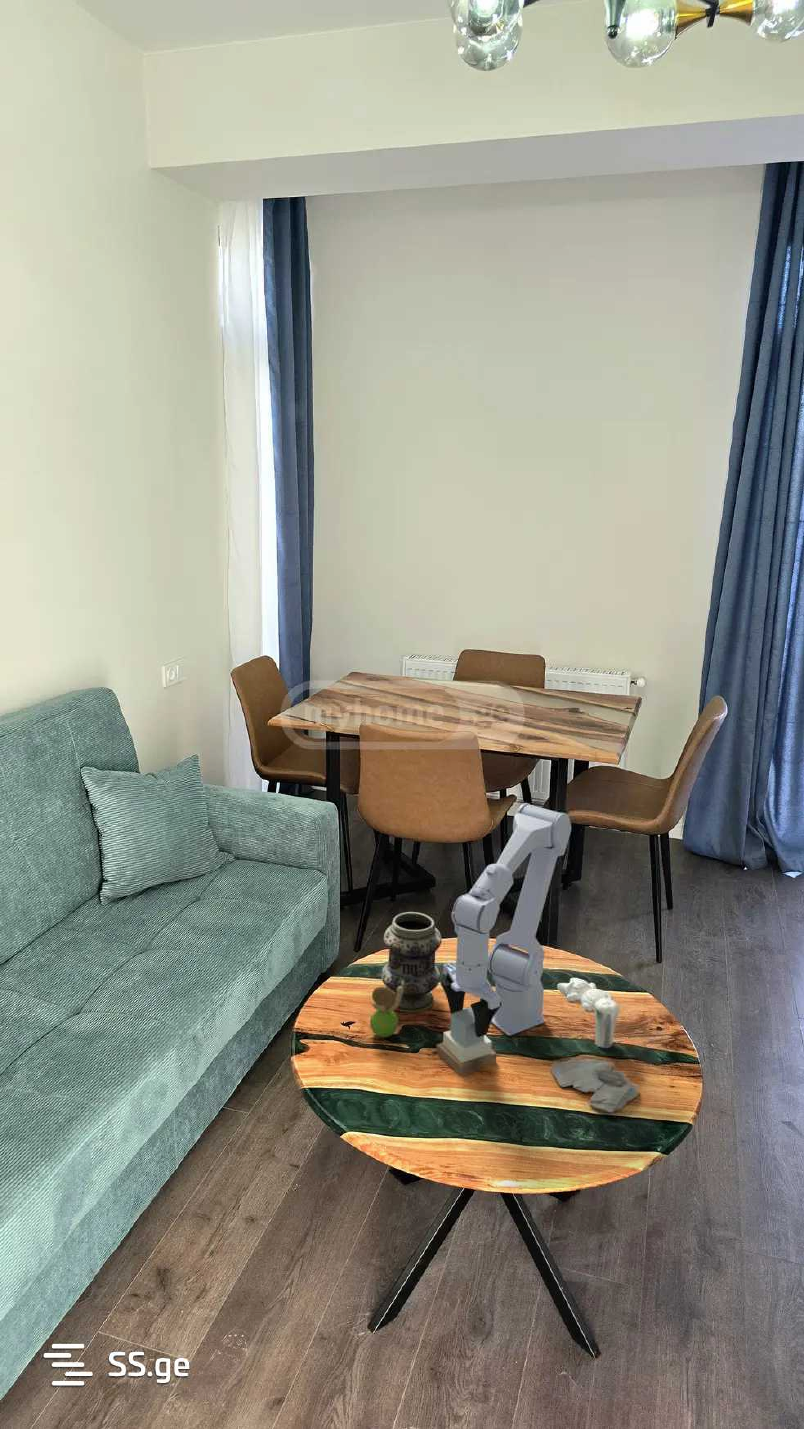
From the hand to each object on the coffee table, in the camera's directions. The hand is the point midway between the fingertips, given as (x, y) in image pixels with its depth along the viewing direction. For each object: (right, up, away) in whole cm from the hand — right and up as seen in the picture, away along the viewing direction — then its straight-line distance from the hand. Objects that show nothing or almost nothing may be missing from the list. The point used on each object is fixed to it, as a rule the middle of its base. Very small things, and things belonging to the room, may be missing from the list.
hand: (468, 1024), depth 177 cm
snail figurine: (-15, -5, +8) cm, 18 cm away
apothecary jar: (-11, -2, +21) cm, 23 cm away
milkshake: (+26, -6, +7) cm, 28 cm away
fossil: (+21, -10, -5) cm, 24 cm away
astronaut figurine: (+26, -2, +24) cm, 36 cm away
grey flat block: (0, -7, +2) cm, 8 cm away
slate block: (0, -3, 0) cm, 3 cm away
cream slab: (0, -5, +1) cm, 5 cm away
